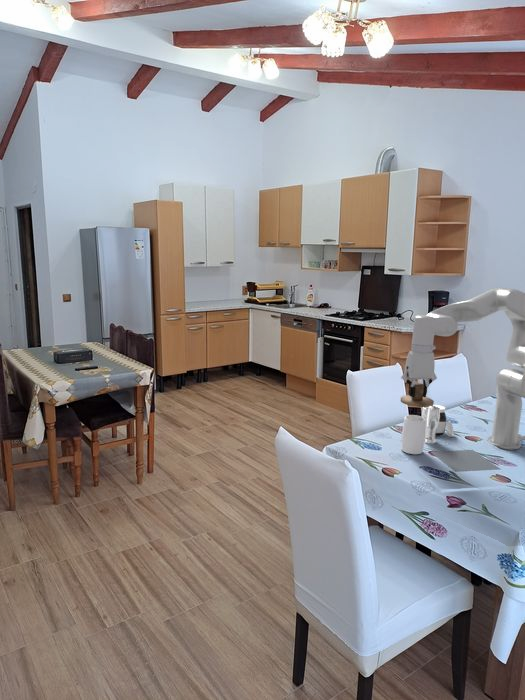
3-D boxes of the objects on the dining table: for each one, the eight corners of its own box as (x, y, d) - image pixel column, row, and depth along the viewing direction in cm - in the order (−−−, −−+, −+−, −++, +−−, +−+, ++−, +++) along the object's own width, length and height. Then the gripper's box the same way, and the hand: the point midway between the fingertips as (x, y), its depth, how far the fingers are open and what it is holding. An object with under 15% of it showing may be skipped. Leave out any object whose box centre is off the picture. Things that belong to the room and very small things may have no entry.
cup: (396, 450, 202) (399, 415, 200) (414, 448, 205) (418, 413, 202) (408, 458, 195) (412, 422, 192) (427, 456, 197) (431, 421, 194)
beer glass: (437, 446, 208) (441, 410, 205) (419, 444, 209) (423, 409, 206) (435, 440, 214) (439, 405, 211) (418, 438, 216) (421, 404, 213)
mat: (472, 451, 203) (472, 449, 203) (500, 471, 186) (500, 469, 186) (429, 453, 200) (430, 451, 200) (454, 473, 183) (455, 471, 183)
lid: (423, 397, 203) (425, 379, 201) (439, 406, 191) (441, 388, 190) (395, 397, 200) (396, 380, 199) (409, 407, 189) (411, 388, 187)
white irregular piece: (422, 428, 228) (424, 403, 226) (448, 429, 228) (450, 404, 226) (429, 438, 216) (432, 411, 214) (457, 439, 216) (460, 413, 214)
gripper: (437, 346, 197) (432, 393, 200) (396, 346, 194) (392, 393, 197) (447, 350, 190) (442, 398, 193) (405, 350, 187) (400, 399, 190)
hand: (417, 395), depth 195 cm, fingers closed on lid, 4 cm apart
